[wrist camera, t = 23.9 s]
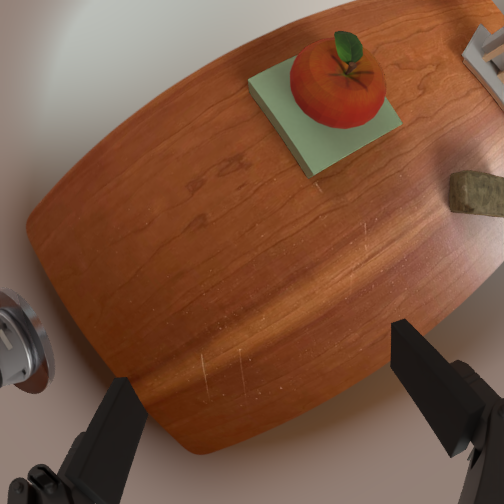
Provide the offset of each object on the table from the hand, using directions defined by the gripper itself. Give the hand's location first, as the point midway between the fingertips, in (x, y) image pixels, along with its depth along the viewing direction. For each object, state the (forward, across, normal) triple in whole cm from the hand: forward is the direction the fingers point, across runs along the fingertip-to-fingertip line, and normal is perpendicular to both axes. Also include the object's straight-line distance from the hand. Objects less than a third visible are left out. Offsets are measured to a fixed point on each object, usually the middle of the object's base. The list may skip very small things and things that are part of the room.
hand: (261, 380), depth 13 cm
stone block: (+22, +33, +1) cm, 40 cm away
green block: (+24, +13, +15) cm, 31 cm away
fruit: (+21, +12, +16) cm, 29 cm away
